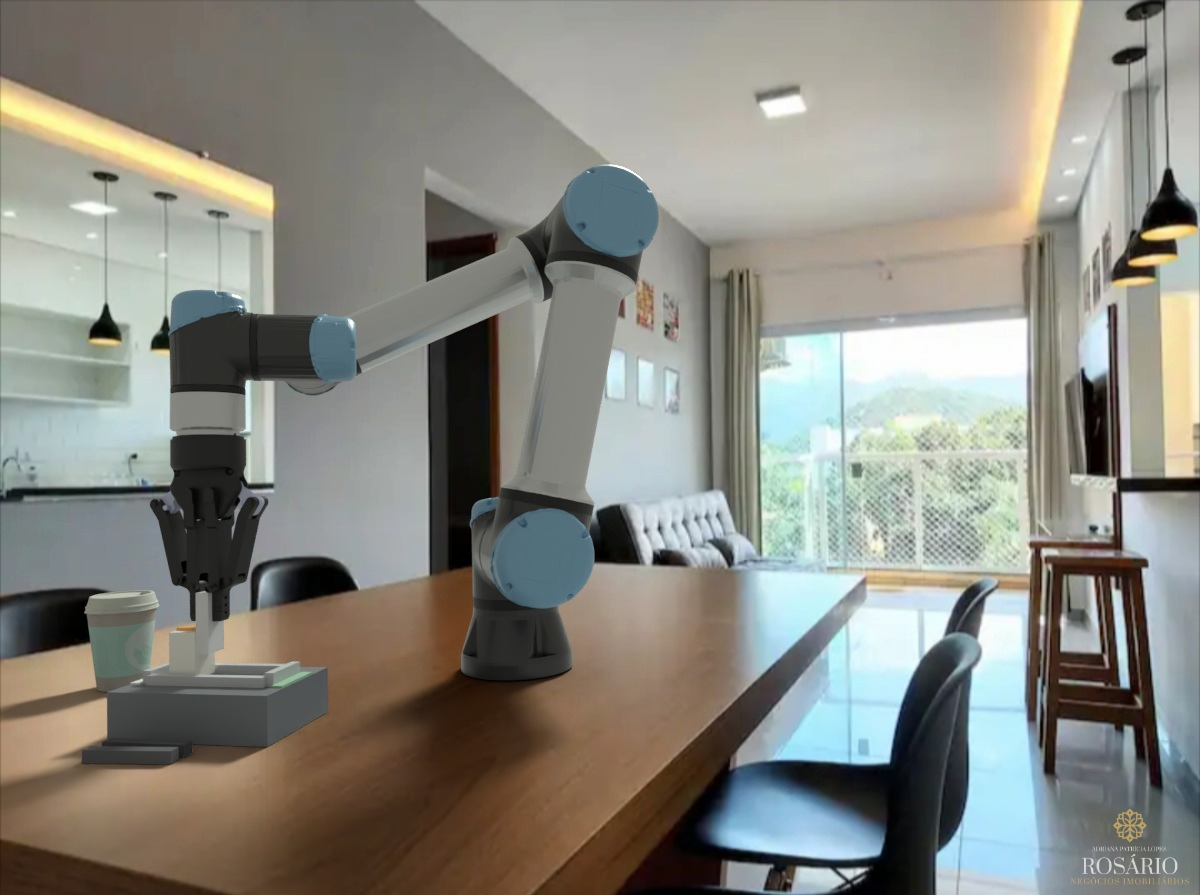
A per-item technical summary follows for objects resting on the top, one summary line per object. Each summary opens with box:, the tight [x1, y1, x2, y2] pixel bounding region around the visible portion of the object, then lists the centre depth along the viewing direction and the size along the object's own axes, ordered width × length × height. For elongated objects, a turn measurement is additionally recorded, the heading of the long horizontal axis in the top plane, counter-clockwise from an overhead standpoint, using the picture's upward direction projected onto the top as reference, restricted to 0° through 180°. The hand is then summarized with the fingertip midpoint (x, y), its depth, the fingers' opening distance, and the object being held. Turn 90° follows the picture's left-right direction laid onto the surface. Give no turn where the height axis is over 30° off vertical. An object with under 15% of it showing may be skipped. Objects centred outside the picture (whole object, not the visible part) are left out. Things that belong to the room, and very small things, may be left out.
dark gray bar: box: [81, 745, 180, 765], centre depth 78 cm, size 9×1×1 cm, turn 84°
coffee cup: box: [83, 589, 160, 693], centre depth 107 cm, size 8×8×12 cm
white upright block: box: [168, 625, 216, 675], centre depth 89 cm, size 3×3×5 cm
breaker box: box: [106, 661, 329, 748], centre depth 88 cm, size 18×12×6 cm, turn 80°
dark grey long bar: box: [101, 738, 194, 758], centre depth 80 cm, size 9×1×1 cm, turn 80°
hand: (210, 651), depth 89 cm, fingers closed
